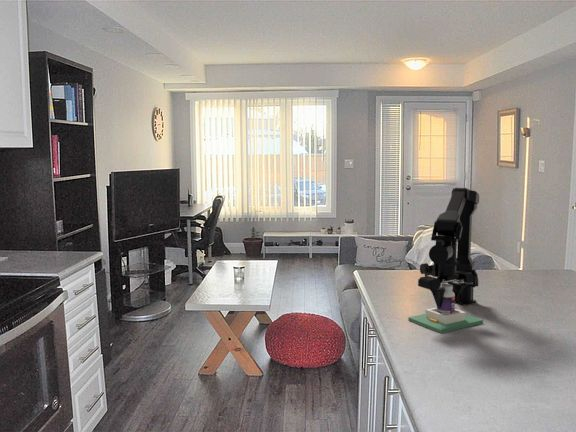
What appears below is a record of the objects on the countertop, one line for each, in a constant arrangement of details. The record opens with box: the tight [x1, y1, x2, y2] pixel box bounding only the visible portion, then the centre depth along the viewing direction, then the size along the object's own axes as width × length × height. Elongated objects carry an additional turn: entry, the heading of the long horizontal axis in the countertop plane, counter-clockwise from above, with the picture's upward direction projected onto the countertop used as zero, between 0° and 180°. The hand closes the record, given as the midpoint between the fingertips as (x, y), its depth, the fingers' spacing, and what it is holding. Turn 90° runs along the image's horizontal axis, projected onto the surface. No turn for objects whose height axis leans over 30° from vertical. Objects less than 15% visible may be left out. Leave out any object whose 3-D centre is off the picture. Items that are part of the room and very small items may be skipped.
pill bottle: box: [437, 283, 456, 315], centre depth 171 cm, size 5×5×10 cm
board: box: [407, 306, 484, 334], centre depth 171 cm, size 18×14×4 cm
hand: (445, 306), depth 171 cm, fingers open, 5 cm apart
